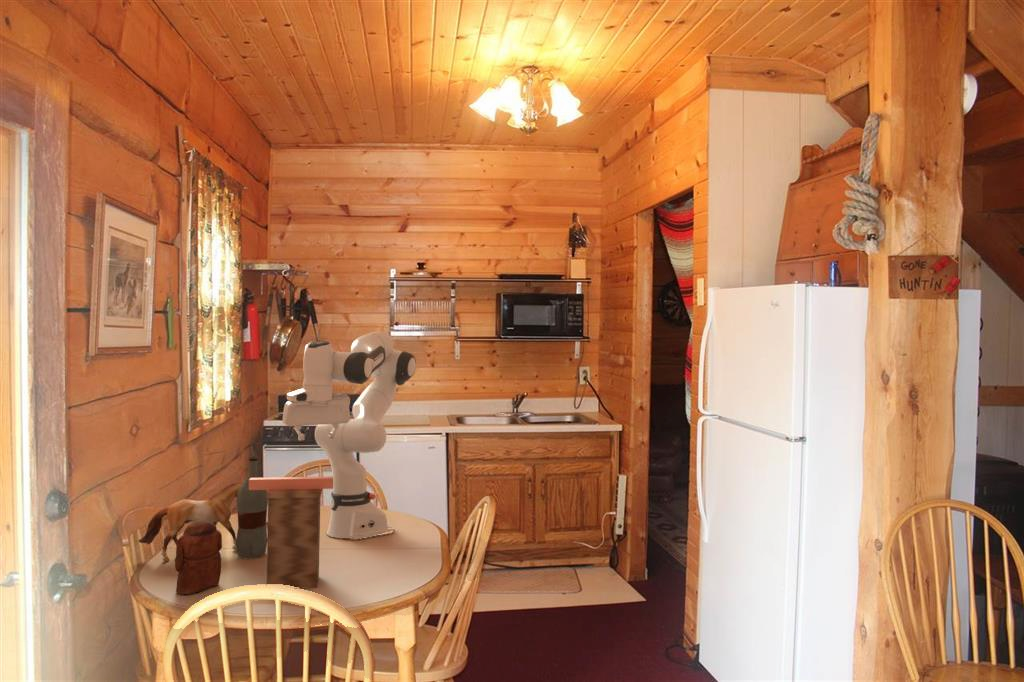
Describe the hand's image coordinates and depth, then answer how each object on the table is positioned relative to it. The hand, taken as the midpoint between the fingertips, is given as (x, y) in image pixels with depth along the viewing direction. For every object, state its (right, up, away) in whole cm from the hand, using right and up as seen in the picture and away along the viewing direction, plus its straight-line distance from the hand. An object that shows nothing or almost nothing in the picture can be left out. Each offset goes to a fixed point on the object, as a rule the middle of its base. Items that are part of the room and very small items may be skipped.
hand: (316, 439), depth 229 cm
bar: (0, -10, -25) cm, 27 cm away
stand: (0, -36, -25) cm, 44 cm away
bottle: (-20, -36, -1) cm, 41 cm away
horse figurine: (-38, -35, 0) cm, 51 cm away
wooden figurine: (-24, -36, -31) cm, 53 cm away
